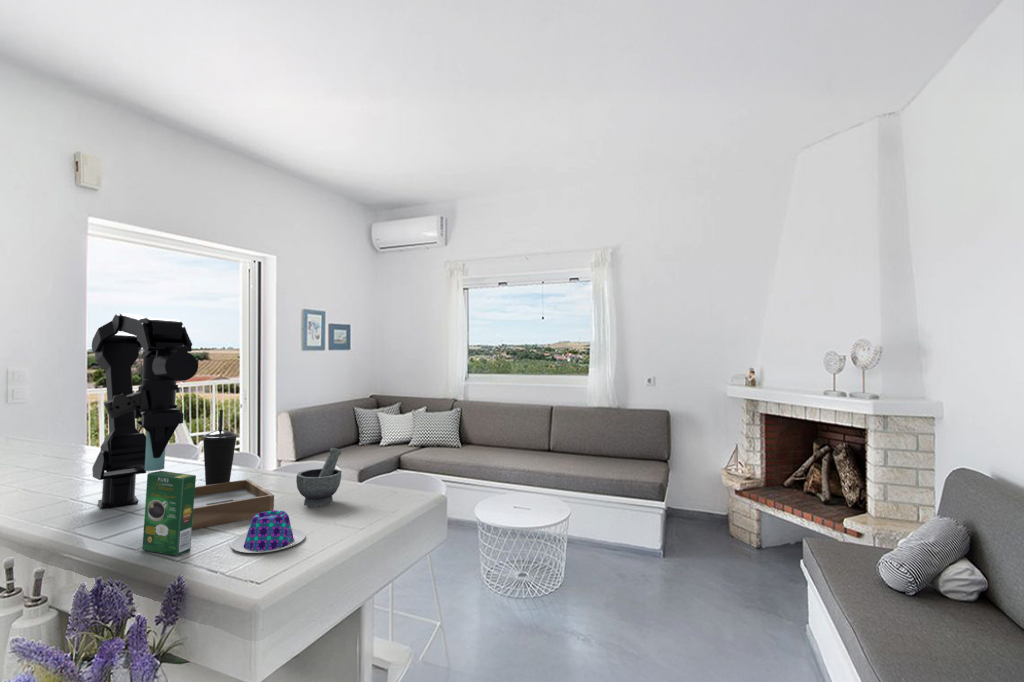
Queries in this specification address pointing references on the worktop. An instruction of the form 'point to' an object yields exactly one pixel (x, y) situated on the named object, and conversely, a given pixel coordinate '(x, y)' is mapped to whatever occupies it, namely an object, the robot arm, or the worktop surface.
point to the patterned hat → (268, 533)
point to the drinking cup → (218, 454)
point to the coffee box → (168, 512)
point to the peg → (151, 462)
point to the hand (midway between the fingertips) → (155, 456)
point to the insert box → (229, 503)
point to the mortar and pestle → (320, 482)
